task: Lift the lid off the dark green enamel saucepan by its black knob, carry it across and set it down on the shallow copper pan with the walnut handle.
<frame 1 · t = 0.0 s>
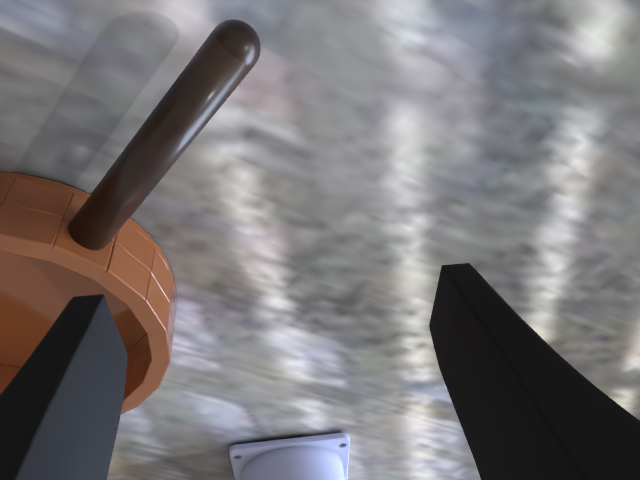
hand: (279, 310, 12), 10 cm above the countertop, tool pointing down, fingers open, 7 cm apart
pan: (31, 288, 24), on the countertop
pan handle: (153, 150, 18), point 2 cm above the countertop
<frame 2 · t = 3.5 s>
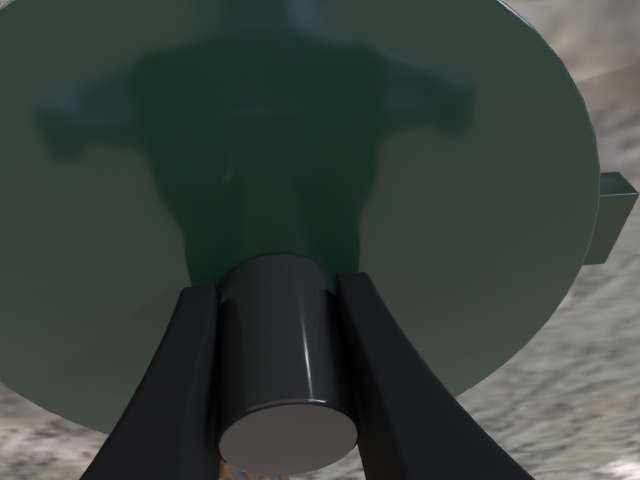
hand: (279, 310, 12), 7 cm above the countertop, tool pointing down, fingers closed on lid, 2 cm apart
pot: (266, 146, 17), on the countertop
vase: (225, 443, 29), on the countertop
lid: (276, 278, 12), point 6 cm above the countertop, touching gripper, pot
when the fingers open (4 cm above the countertop, at t = 7.4 s): lid stays where it is, resting on pan.
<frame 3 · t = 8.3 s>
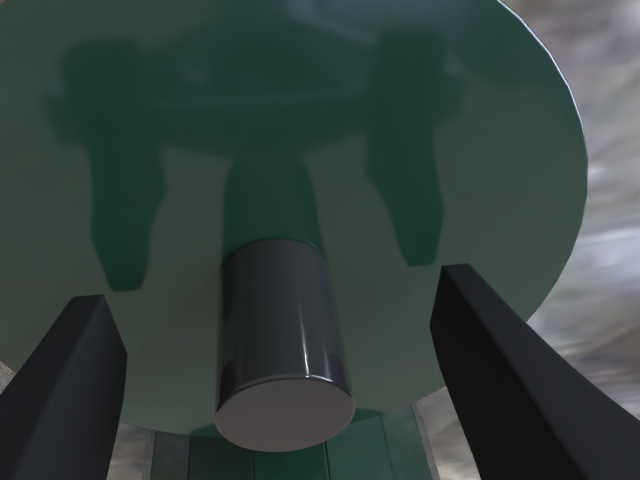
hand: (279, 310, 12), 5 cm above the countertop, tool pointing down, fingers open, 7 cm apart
pot: (287, 438, 25), on the countertop
lid: (274, 264, 13), point 3 cm above the countertop, touching pan
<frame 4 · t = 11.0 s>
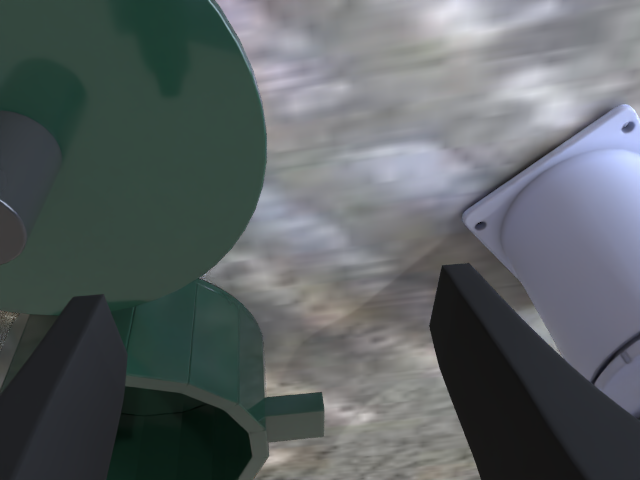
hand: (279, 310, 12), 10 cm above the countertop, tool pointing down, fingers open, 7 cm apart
pot: (144, 351, 28), on the countertop
lid: (20, 141, 16), point 3 cm above the countertop, touching pan
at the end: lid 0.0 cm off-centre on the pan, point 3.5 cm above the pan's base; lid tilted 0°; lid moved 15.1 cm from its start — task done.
